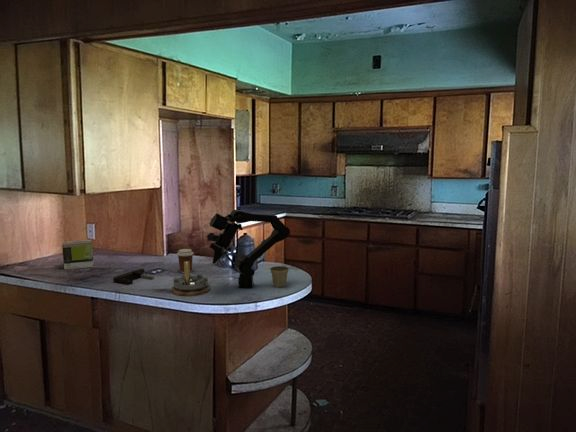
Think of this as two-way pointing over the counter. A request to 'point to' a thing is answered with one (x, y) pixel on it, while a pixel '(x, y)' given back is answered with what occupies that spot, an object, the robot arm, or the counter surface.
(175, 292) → the base
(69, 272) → the counter surface
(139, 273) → the door handle
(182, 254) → the coffee cup
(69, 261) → the tea box
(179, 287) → the ring nut
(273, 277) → the flower pot
